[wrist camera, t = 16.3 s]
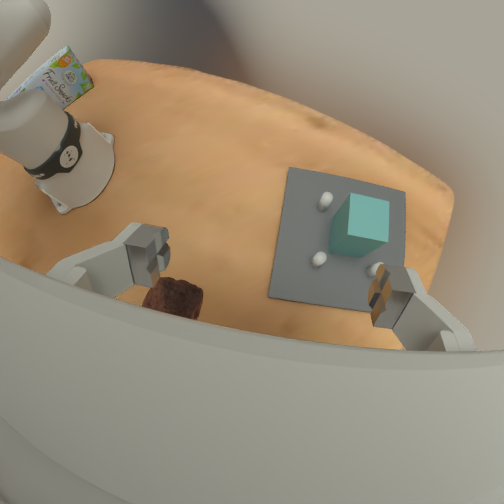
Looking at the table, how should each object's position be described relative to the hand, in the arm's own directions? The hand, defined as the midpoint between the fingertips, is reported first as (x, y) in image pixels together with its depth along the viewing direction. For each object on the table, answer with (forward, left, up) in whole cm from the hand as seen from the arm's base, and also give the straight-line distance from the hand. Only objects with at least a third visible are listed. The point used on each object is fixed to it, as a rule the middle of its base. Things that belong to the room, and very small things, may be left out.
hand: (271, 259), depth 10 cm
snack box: (-70, +13, -30) cm, 77 cm away
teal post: (+6, +12, -28) cm, 31 cm away
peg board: (+6, +12, -29) cm, 32 cm away
